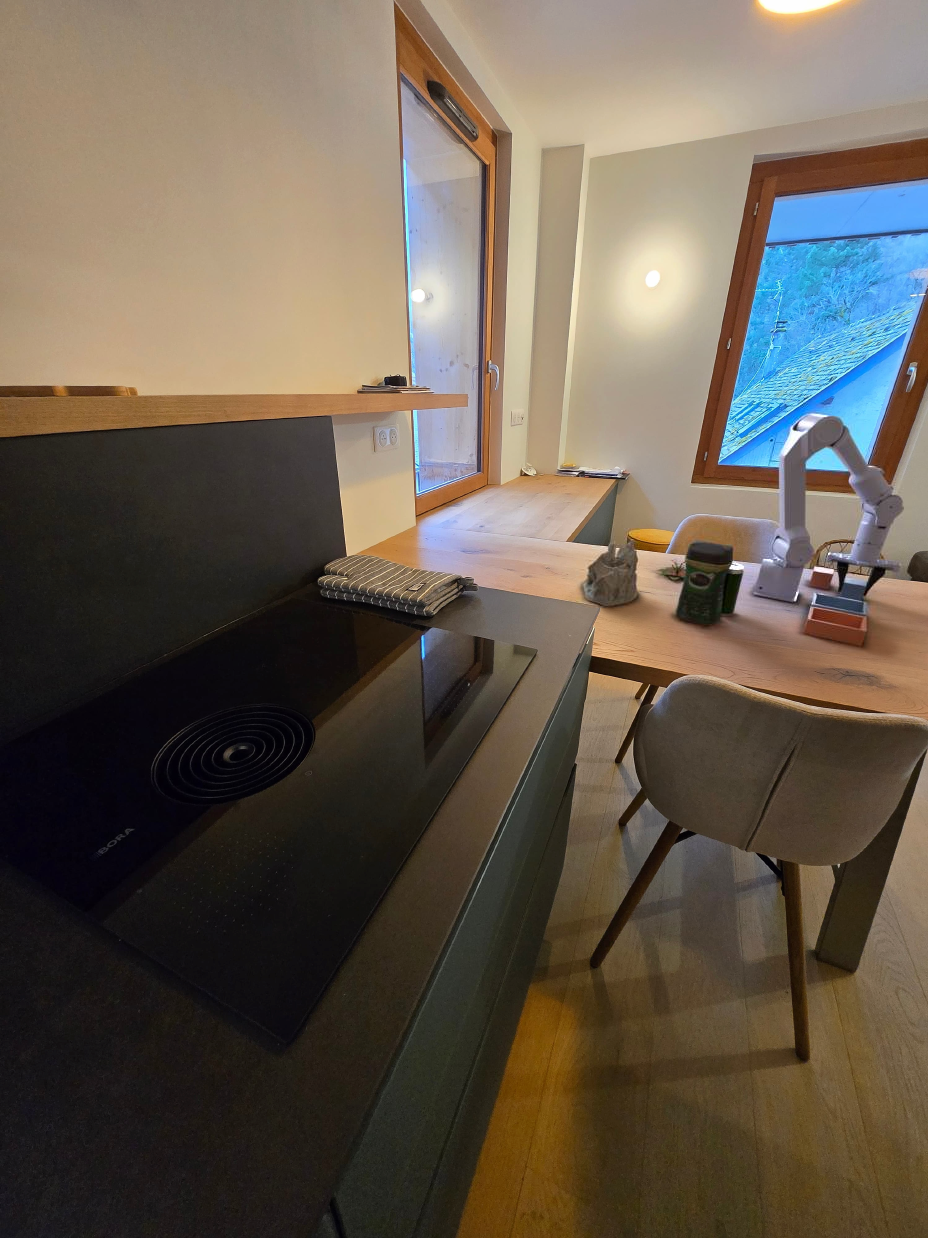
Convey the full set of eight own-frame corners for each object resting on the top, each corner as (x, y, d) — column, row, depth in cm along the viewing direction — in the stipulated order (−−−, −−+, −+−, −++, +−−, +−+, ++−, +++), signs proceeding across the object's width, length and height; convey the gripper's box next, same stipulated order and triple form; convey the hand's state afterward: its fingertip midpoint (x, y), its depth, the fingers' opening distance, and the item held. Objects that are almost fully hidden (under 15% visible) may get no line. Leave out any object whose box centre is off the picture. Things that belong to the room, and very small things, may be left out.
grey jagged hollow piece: (602, 576, 143) (607, 527, 136) (649, 597, 131) (657, 543, 123) (563, 592, 136) (565, 540, 128) (608, 614, 124) (614, 559, 116)
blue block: (838, 598, 127) (844, 582, 125) (839, 593, 130) (845, 577, 128) (860, 602, 124) (866, 586, 122) (860, 596, 128) (866, 580, 126)
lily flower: (671, 584, 137) (673, 569, 135) (646, 570, 148) (649, 556, 146) (708, 580, 140) (711, 565, 138) (682, 566, 150) (684, 552, 148)
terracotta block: (808, 586, 135) (813, 570, 133) (810, 581, 138) (814, 566, 136) (828, 589, 132) (833, 574, 130) (829, 584, 135) (834, 569, 133)
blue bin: (807, 617, 117) (811, 604, 116) (810, 605, 123) (814, 592, 122) (861, 628, 112) (866, 614, 110) (862, 615, 118) (867, 602, 116)
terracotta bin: (803, 633, 110) (807, 619, 108) (806, 619, 116) (811, 606, 115) (860, 646, 104) (866, 631, 103) (861, 631, 111) (866, 617, 109)
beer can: (725, 618, 117) (736, 571, 112) (704, 611, 121) (714, 565, 116) (737, 613, 120) (749, 566, 115) (717, 605, 124) (727, 560, 119)
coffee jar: (723, 618, 118) (740, 543, 110) (712, 629, 112) (730, 551, 104) (682, 607, 123) (695, 535, 115) (670, 618, 118) (683, 543, 110)
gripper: (832, 540, 122) (816, 591, 128) (908, 550, 114) (887, 604, 120) (834, 534, 127) (818, 583, 133) (906, 543, 119) (886, 595, 125)
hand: (851, 592), depth 127 cm, fingers closed on blue block, 4 cm apart
